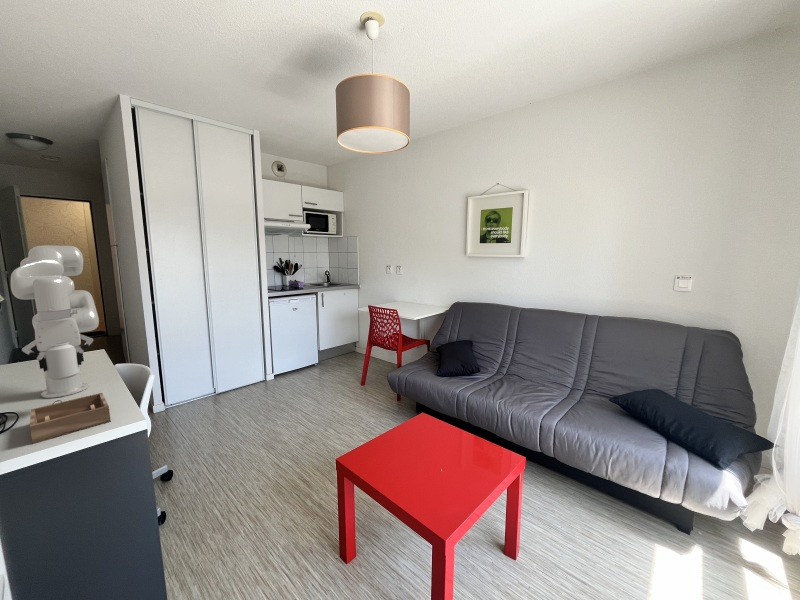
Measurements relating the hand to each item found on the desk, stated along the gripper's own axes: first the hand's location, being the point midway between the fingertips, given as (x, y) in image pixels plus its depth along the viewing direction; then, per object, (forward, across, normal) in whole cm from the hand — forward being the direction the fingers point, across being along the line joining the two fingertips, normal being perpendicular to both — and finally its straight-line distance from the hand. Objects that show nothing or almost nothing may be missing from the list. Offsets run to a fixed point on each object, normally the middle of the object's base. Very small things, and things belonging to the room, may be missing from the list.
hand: (62, 366), depth 109 cm
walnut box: (+14, 0, +17) cm, 22 cm away
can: (+4, 0, 0) cm, 4 cm away
